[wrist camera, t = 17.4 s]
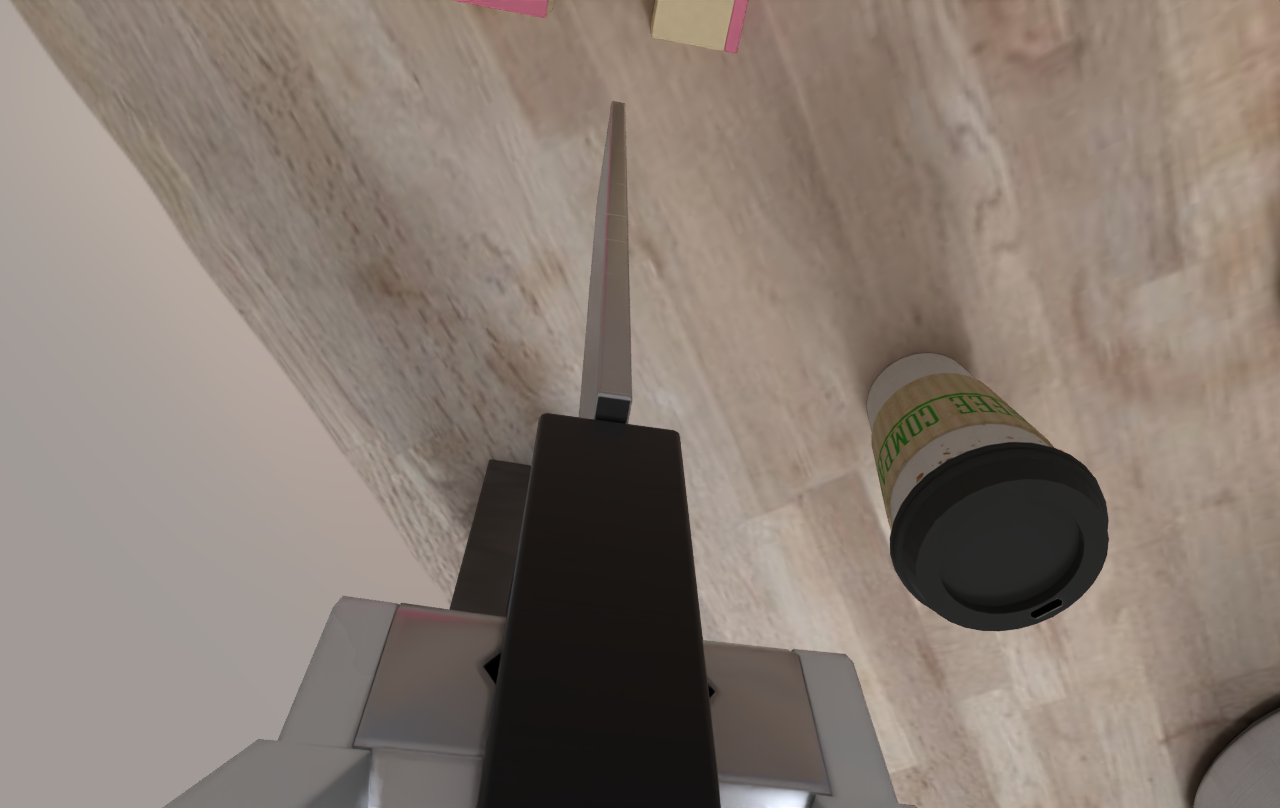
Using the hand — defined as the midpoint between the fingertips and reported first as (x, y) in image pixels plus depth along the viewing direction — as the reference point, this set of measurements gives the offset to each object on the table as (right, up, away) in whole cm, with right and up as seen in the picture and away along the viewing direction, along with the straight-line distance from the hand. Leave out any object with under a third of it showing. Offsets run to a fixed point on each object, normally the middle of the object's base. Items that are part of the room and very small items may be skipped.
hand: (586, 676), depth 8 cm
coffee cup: (+17, +3, +46) cm, 49 cm away
